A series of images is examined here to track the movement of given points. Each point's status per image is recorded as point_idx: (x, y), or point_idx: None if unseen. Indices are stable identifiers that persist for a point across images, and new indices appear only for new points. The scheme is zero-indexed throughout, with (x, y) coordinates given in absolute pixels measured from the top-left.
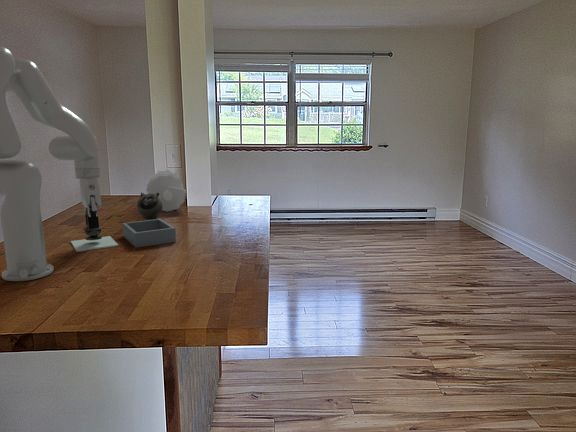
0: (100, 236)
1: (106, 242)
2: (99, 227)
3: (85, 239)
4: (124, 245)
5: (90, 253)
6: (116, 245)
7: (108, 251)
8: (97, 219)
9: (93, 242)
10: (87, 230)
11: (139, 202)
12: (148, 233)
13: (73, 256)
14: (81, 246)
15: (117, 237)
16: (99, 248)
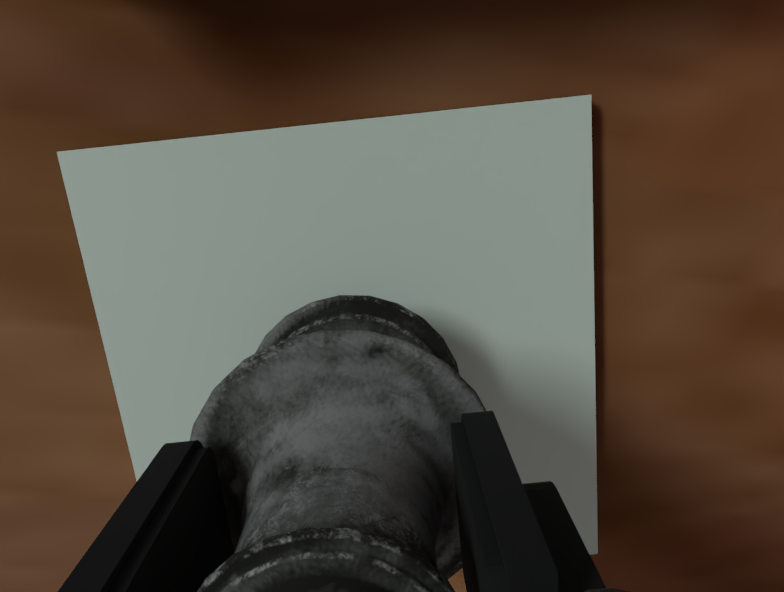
0: (366, 320)
1: (404, 231)
2: (396, 384)
3: (144, 455)
4: (592, 8)
5: (726, 424)
6: (590, 119)
7: (762, 239)
8: (532, 528)
9: None
10: None
11: None
12: None
13: (738, 570)
14: None
15: (100, 47)
16: (588, 326)
